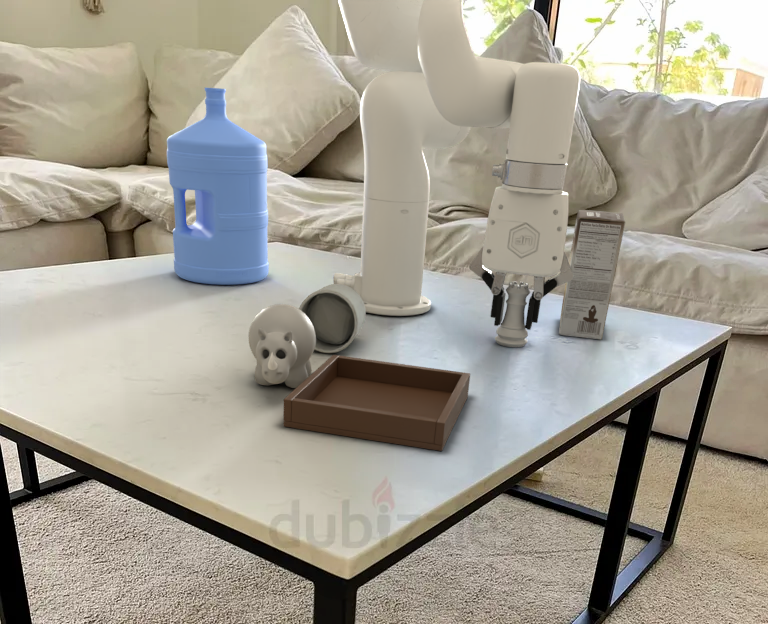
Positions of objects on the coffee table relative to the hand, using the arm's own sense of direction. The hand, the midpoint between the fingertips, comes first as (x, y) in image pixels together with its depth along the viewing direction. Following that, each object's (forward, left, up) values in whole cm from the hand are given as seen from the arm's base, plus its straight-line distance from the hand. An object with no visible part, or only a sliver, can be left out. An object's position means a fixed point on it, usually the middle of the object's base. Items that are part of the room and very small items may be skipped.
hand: (513, 324), depth 105 cm
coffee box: (+9, +12, -3) cm, 15 cm away
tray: (-10, -32, -3) cm, 34 cm away
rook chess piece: (0, 0, -3) cm, 3 cm away
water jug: (-51, +19, -3) cm, 54 cm away
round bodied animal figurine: (-22, -30, -3) cm, 37 cm away
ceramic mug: (-23, -12, -3) cm, 26 cm away
